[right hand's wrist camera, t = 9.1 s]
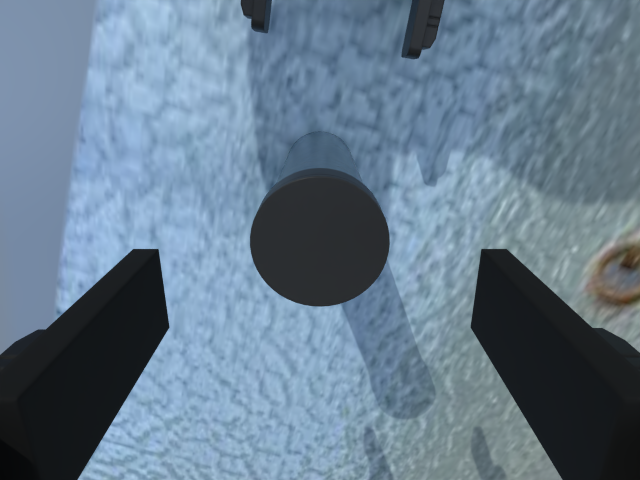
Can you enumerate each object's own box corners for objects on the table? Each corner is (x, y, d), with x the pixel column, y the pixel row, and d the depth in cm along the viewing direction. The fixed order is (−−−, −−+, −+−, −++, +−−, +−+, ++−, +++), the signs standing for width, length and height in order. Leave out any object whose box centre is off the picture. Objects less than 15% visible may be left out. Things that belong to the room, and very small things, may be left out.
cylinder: (356, 135, 32) (390, 188, 17) (347, 200, 34) (370, 301, 18) (290, 127, 32) (263, 173, 17) (284, 192, 34) (254, 289, 18)
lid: (394, 176, 18) (401, 185, 16) (372, 295, 20) (377, 313, 18) (260, 160, 18) (254, 168, 16) (251, 282, 19) (245, 299, 18)
